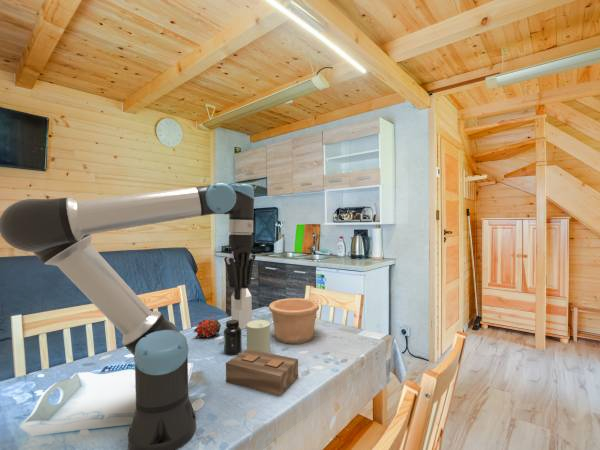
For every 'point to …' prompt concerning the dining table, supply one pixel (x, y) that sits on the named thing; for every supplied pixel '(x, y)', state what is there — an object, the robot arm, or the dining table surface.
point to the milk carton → (245, 314)
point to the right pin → (274, 363)
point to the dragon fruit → (208, 328)
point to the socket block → (262, 372)
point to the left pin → (250, 358)
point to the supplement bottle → (232, 338)
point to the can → (258, 335)
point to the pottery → (294, 319)
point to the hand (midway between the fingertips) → (239, 309)
